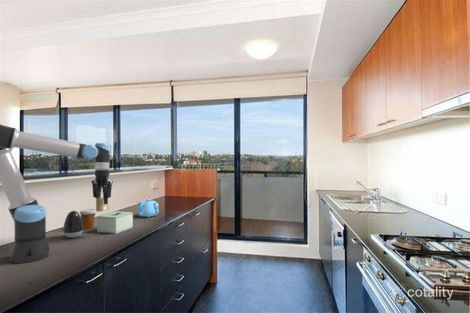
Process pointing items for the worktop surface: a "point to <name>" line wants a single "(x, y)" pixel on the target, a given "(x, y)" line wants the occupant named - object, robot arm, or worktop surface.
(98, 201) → the yellow block
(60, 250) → the worktop surface
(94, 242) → the worktop surface
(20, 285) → the worktop surface
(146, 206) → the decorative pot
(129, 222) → the money box
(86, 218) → the disposable coffee cup
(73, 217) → the black dome on base
